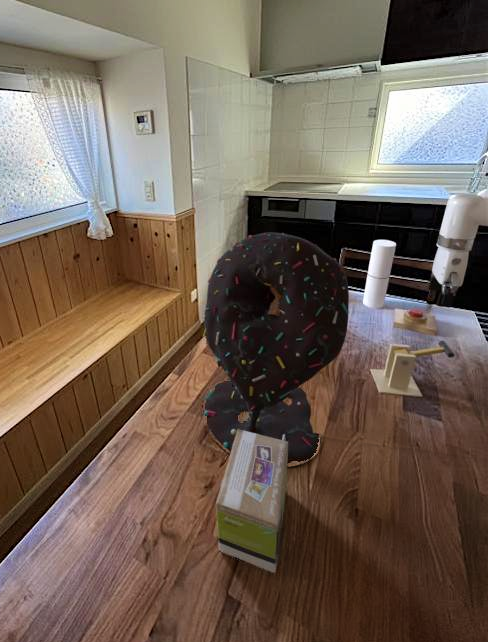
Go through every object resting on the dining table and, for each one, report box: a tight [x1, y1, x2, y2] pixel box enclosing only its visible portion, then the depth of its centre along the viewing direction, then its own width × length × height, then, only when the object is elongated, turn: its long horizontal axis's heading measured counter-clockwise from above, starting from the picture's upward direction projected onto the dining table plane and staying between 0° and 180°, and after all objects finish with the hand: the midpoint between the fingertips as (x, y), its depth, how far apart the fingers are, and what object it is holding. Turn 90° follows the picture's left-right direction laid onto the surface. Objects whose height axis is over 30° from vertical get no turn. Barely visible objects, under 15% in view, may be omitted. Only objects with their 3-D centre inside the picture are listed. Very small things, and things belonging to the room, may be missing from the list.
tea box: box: [215, 429, 288, 574], centre depth 60 cm, size 15×10×15 cm, turn 159°
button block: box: [392, 307, 438, 337], centre depth 115 cm, size 12×10×4 cm
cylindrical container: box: [362, 239, 397, 309], centre depth 125 cm, size 7×7×25 cm
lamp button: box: [409, 307, 424, 318], centre depth 114 cm, size 4×4×2 cm
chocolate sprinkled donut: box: [202, 231, 350, 464], centre depth 77 cm, size 30×32×45 cm
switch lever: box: [394, 340, 455, 358], centre depth 86 cm, size 12×5×2 cm, turn 77°
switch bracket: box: [370, 343, 423, 398], centre depth 89 cm, size 10×9×12 cm
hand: (438, 298), depth 96 cm, fingers open, 9 cm apart
